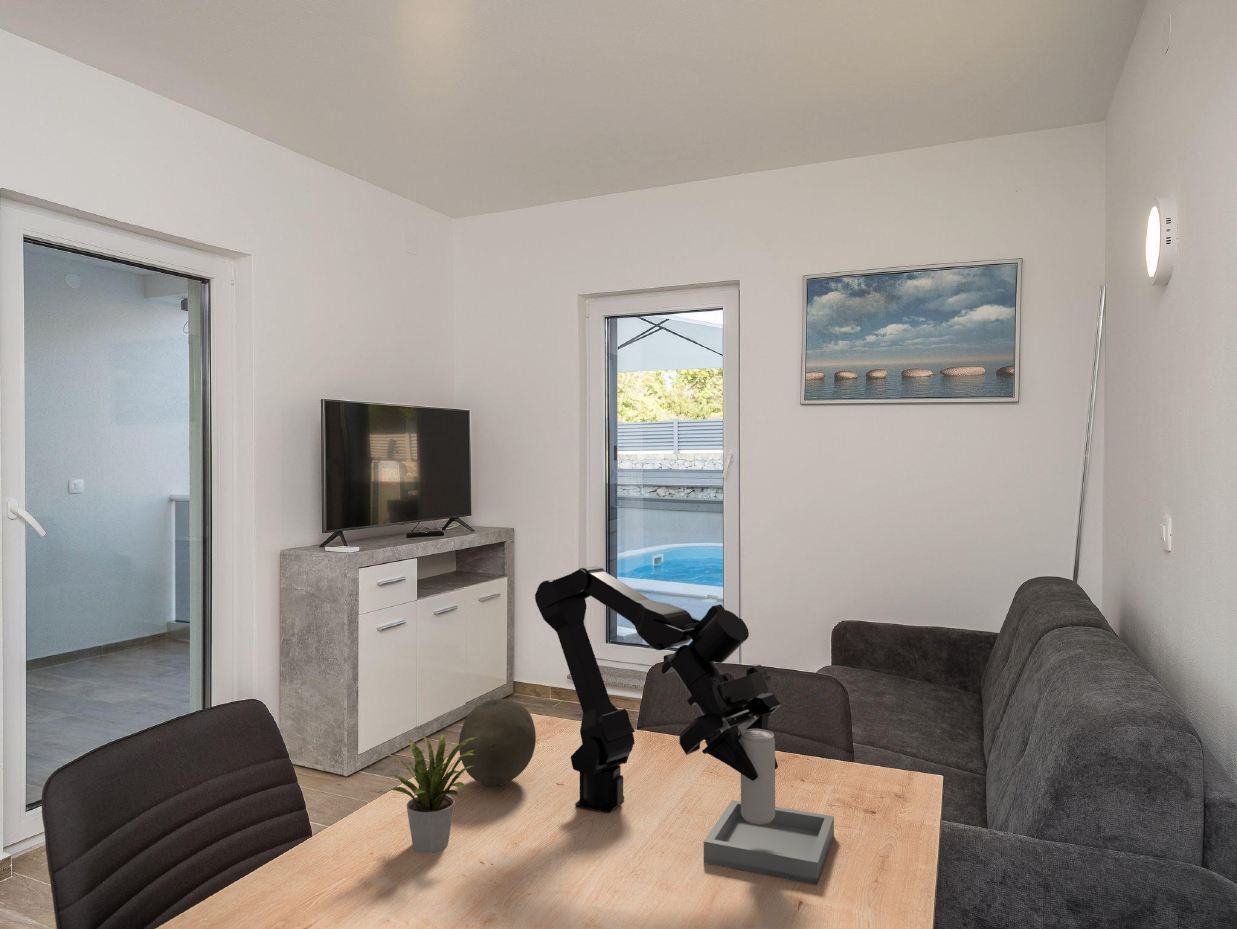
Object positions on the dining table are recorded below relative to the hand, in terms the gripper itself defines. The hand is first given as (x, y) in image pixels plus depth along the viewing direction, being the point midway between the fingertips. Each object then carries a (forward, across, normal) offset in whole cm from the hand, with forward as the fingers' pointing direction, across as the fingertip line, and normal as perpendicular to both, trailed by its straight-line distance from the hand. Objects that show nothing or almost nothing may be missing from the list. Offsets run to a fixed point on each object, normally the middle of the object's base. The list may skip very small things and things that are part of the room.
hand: (765, 774), depth 113 cm
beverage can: (+4, 0, +6) cm, 7 cm away
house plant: (-18, -27, +38) cm, 50 cm away
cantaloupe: (-26, -7, +46) cm, 53 cm away
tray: (+8, +6, +11) cm, 15 cm away
